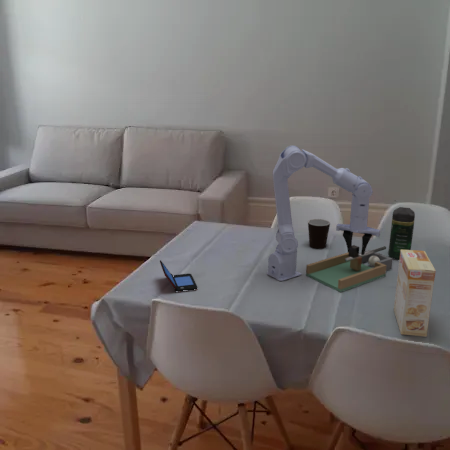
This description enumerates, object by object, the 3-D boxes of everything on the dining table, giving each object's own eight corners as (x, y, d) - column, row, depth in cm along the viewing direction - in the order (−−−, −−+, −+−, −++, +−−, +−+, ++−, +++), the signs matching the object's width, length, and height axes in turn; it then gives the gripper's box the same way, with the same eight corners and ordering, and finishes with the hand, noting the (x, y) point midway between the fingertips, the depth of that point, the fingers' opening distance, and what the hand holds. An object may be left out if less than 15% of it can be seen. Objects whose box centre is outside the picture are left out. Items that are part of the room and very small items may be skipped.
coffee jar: (409, 262, 189) (415, 213, 183) (387, 259, 192) (392, 211, 186) (410, 253, 198) (416, 206, 192) (389, 250, 200) (393, 204, 194)
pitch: (340, 292, 166) (341, 280, 164) (306, 275, 178) (306, 264, 177) (398, 271, 181) (399, 260, 180) (362, 257, 194) (363, 247, 192)
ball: (374, 260, 182) (382, 255, 183) (365, 257, 185) (373, 252, 186) (375, 270, 183) (382, 265, 185) (366, 266, 186) (373, 261, 188)
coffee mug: (322, 251, 200) (323, 227, 196) (302, 246, 204) (303, 223, 201) (335, 243, 208) (337, 219, 205) (316, 238, 213) (317, 215, 210)
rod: (348, 273, 176) (350, 250, 173) (341, 270, 178) (343, 247, 176) (387, 260, 187) (389, 238, 184) (380, 257, 189) (382, 236, 186)
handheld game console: (198, 291, 167) (197, 270, 165) (165, 295, 165) (164, 273, 163) (191, 275, 179) (190, 255, 177) (160, 279, 177) (159, 259, 174)
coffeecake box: (427, 337, 139) (436, 270, 133) (400, 335, 140) (407, 269, 134) (417, 311, 153) (425, 250, 147) (393, 309, 154) (399, 248, 148)
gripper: (334, 215, 173) (332, 253, 178) (378, 221, 167) (374, 260, 171) (340, 209, 179) (338, 246, 184) (383, 215, 173) (379, 253, 177)
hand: (356, 252), depth 178 cm, fingers open, 4 cm apart
